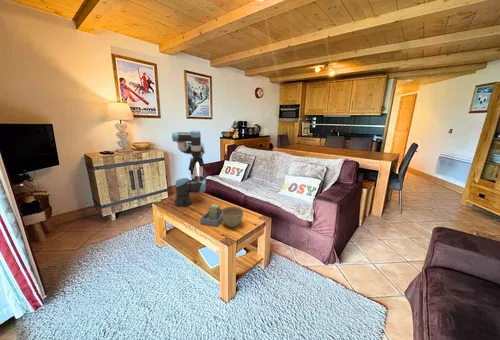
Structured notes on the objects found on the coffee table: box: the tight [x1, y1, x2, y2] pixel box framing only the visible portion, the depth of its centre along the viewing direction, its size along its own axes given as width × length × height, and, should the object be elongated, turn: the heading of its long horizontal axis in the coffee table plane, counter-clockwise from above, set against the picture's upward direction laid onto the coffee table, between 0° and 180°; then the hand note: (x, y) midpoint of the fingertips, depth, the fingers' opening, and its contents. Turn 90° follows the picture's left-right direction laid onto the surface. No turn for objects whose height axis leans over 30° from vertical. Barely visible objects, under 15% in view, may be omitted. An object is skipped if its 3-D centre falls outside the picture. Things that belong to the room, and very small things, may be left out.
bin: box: [200, 208, 224, 228], centre depth 159 cm, size 20×14×4 cm
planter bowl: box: [222, 206, 244, 228], centre depth 152 cm, size 16×16×11 cm
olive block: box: [208, 204, 221, 221], centre depth 158 cm, size 6×6×10 cm
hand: (197, 176), depth 166 cm, fingers open, 13 cm apart
